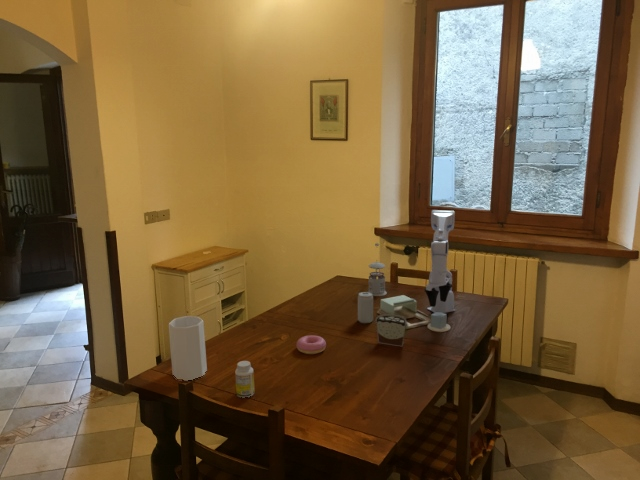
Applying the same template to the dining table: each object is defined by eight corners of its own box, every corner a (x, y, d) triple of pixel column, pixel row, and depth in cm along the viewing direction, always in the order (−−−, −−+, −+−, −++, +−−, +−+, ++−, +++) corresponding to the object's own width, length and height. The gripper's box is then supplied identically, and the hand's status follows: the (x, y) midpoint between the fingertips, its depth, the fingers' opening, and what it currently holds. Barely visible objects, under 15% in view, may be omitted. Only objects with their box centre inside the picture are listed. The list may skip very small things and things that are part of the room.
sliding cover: (403, 305, 232) (403, 293, 230) (416, 312, 223) (416, 299, 222) (380, 310, 226) (380, 297, 225) (392, 317, 218) (393, 303, 217)
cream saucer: (440, 322, 215) (440, 320, 215) (455, 329, 207) (455, 327, 207) (422, 326, 211) (422, 324, 211) (437, 333, 203) (437, 332, 203)
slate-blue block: (436, 323, 212) (436, 311, 211) (446, 325, 209) (446, 314, 208) (430, 326, 209) (430, 314, 208) (440, 329, 206) (441, 317, 205)
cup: (189, 384, 166) (185, 330, 162) (165, 376, 172) (160, 323, 168) (214, 370, 175) (210, 319, 171) (190, 363, 181) (186, 313, 177)
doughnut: (291, 353, 188) (291, 342, 187) (303, 341, 198) (302, 331, 197) (320, 357, 184) (320, 346, 183) (330, 345, 194) (330, 335, 193)
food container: (410, 341, 196) (411, 316, 194) (406, 347, 191) (407, 321, 189) (379, 336, 202) (380, 311, 199) (374, 342, 196) (374, 317, 194)
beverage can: (373, 318, 220) (373, 291, 217) (373, 324, 214) (373, 296, 211) (357, 318, 221) (357, 291, 218) (357, 323, 214) (357, 296, 212)
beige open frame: (405, 307, 233) (405, 303, 232) (435, 322, 214) (435, 318, 214) (377, 313, 226) (377, 309, 226) (406, 329, 208) (406, 325, 207)
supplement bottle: (246, 387, 164) (244, 357, 161) (258, 393, 160) (256, 362, 158) (232, 395, 159) (230, 364, 157) (244, 400, 156) (243, 369, 154)
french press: (365, 295, 250) (365, 245, 244) (367, 288, 261) (367, 239, 255) (386, 296, 248) (387, 245, 243) (387, 289, 259) (387, 240, 254)
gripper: (440, 265, 212) (439, 297, 215) (419, 272, 203) (419, 305, 206) (455, 268, 208) (454, 300, 211) (435, 276, 198) (434, 310, 201)
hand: (437, 303), depth 208 cm, fingers open, 7 cm apart
